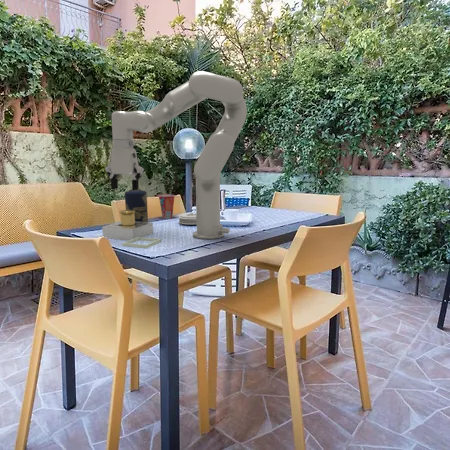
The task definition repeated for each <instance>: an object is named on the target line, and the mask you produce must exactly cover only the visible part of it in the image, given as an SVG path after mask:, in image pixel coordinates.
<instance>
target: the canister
mask: <svg viewBox="0 0 450 450" xmlns="http://www.w3.org/2000/svg"><path fill="white" fill-rule="evenodd" d="M124 201H125V203H124V204H125V210H135V212H134V215H135V221H138V222H149V216H148V213H149V212H148V197H147V191H146V190H142V189H140V188H138V190H132V188H131V189H130V190H127V191H124Z"/></svg>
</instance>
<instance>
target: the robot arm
mask: <svg viewBox="0 0 450 450" xmlns="http://www.w3.org/2000/svg"><path fill="white" fill-rule="evenodd" d="M206 99H210V100H214V101H217V102H221V103H222V105H223V106H224V112H223V116H222V117H221V119H220V121H219V124H218V125H217V127H216V129H215V131H214V132H213V133H211V135H210V136H209V138H208V140H207V141H206V142H205V146H204V147H203V149H202V151H201V153H200V155H199V157H198V158H197V160H196V162H195V165H194V168H193V171H194V172H193V173H194V176H195V207H196V208H195V210H196V211H195V213H196V220H197V224H196V231H194V232H192V237H193V238H195V239H202V240H215V239H220V238H223V237H224V236H225V234H230V231H231V230H230V228H229V227H223V224H221V172H222V170H223V169H224V166H226V163H227V161H228V160H229V158H230V156H231V155H232V152H233V150H234V148H235V147H234V146H235V143H236V140H237V139H238V136H239V135H240V133H241V131H242V128H243V126H244V125H245V122H246V119H247V113H248V109H247V108H248V107H247V104H246V100H245V98H244V88H243V85H242V84H241V83H240V82H239V80H236V79H235V78H231V77H227V76H224V75H219V74H217V73H213V72H209V71H205V70H204V71H203V70H197V71H195V72H193V73H192V74H191V75H190V76H189V79H188V81H186V82H184V83H183V84H181V85H179V86H178V87H176V88H174V89H173V90H170V91H169V92H168V93H167V94H165V96H164V98H163V99H162V101H160V103H158V104H157V105H156V106H153V108H151V109H148V110H147V111H144V110H134V111H124V110H123V111H122V110H120V111H119V110H117V111H113V112H112V113H111V129H112V130H111V131H112V148H111V152H110V163H109V165H107V166H105V167H104V169H105V171H106V175H107V176H108V177H109V179H110V185H111V190H117V189H118V188H119V183H118V182H119V181H118V178H117V177H118V176H121V175H123V176H124V175H126V176H130V177H131V178H132V180H131V189H132V191H133V190H138V189H139V188H140V187H139V180H140V179H141V177H142V175H143V173H144V170H145V169H144V167H142V166H140V165H139V162H138V161H139V160H138V155H137V150H136V148H134V146H136V142H135V141H134V131H136V132H139V133H145V134H147V133H151V132H153V131H155V130H156V129H158V128H161V127H162V126H163V125H165V124H167V123H168V122H170V121H172V119H174V118H176V117H177V116H180V114H182V113H184V112H185V111H187V110H189V109H190V108H192V107H194V106H196V105H197V104H199V103H201V102H202V101H205V100H206Z"/></svg>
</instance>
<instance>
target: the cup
mask: <svg viewBox="0 0 450 450" xmlns="http://www.w3.org/2000/svg"><path fill="white" fill-rule="evenodd" d="M157 197H158V198H159V205H160V211H161V217H162V219H163V220H165V219H167V220H169V219H173V216H174V203H175V197H176V195H175V194H158V195H157Z"/></svg>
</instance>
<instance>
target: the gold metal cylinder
mask: <svg viewBox="0 0 450 450" xmlns="http://www.w3.org/2000/svg"><path fill="white" fill-rule="evenodd" d="M134 212H135V210H126V209H123V210H122V209H121V210H119V214H120V222H121V226H128V227H131V226H134V225H135V215H134Z"/></svg>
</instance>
